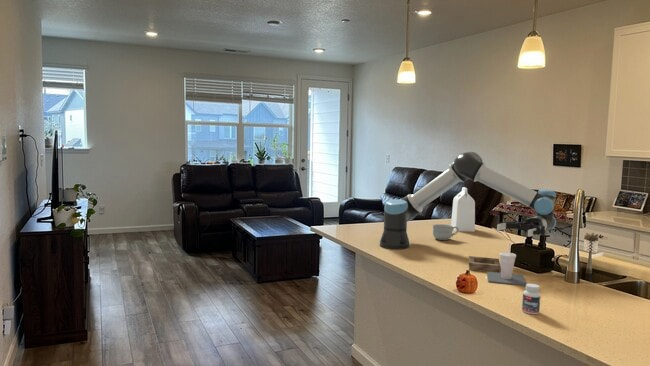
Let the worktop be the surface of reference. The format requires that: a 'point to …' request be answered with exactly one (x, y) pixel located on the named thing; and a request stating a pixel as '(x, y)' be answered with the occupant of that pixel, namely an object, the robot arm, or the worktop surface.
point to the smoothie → (507, 264)
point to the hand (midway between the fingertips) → (512, 230)
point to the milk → (463, 212)
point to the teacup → (443, 231)
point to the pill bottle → (531, 299)
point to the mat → (515, 279)
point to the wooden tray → (484, 264)
